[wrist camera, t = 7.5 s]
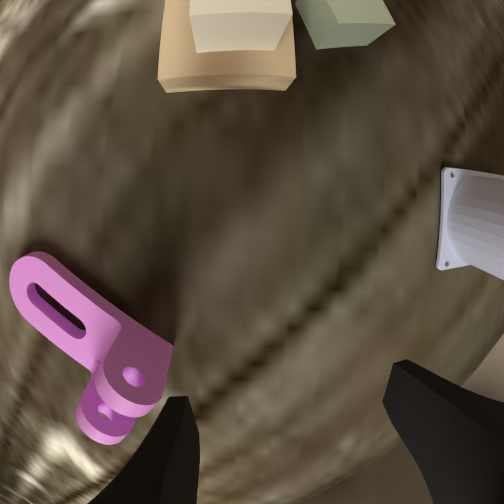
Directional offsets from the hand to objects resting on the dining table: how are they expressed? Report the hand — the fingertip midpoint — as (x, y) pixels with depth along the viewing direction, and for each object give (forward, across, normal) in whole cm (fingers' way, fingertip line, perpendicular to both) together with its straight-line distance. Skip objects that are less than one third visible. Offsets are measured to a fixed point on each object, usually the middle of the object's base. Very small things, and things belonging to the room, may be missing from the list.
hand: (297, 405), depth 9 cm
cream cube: (+7, +1, -16) cm, 18 cm away
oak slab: (+10, +1, -16) cm, 19 cm away
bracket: (+10, +13, +1) cm, 17 cm away
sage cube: (+10, -6, -18) cm, 21 cm away
